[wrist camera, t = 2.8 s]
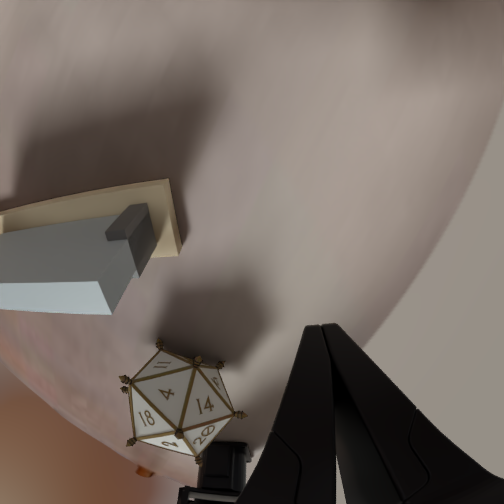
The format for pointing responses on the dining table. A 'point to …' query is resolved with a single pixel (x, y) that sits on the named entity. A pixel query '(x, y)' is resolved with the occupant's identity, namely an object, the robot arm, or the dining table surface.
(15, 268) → the panel
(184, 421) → the game die
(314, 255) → the dining table surface
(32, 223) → the rail
